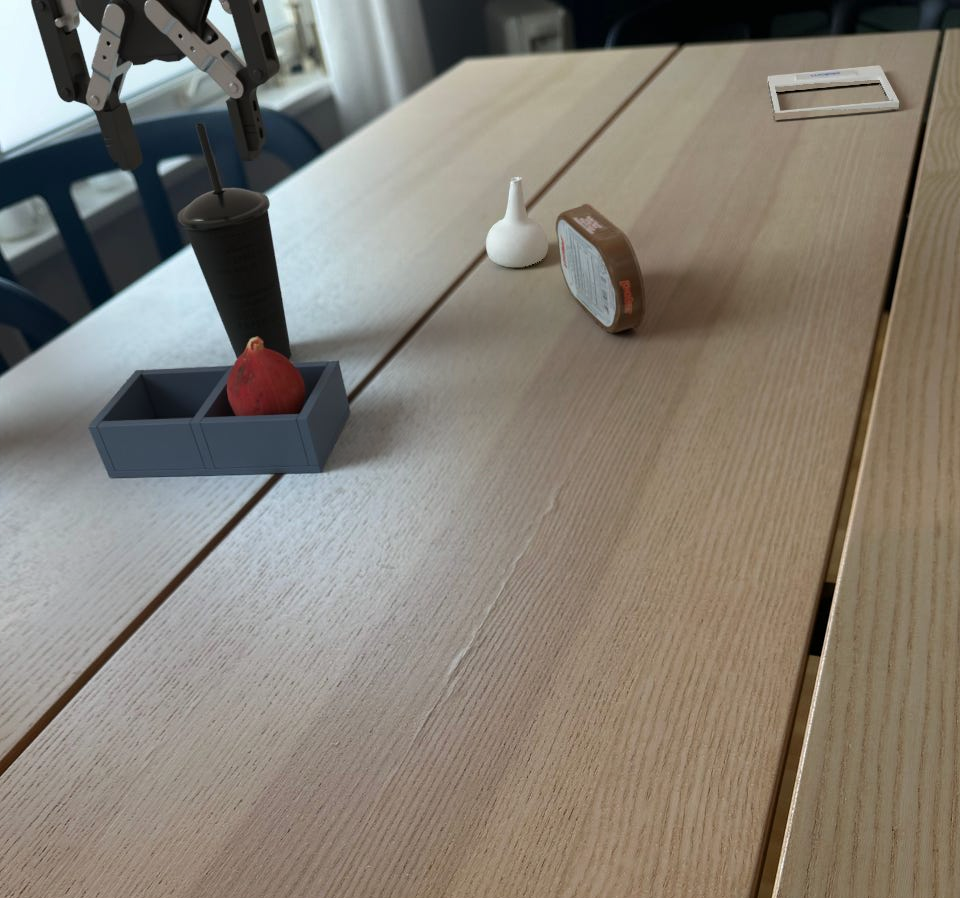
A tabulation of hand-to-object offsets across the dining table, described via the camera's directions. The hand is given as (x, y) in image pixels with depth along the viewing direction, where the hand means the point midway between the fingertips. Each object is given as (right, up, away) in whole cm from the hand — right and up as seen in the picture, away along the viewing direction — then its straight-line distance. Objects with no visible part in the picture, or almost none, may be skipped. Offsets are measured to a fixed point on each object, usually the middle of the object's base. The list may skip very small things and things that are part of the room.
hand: (191, 162), depth 67 cm
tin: (+30, -2, +24) cm, 39 cm away
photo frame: (+65, +39, +65) cm, 100 cm away
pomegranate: (+3, -16, +13) cm, 21 cm away
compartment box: (-1, -16, +14) cm, 21 cm away
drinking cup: (0, -6, +26) cm, 26 cm away
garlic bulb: (+23, +7, +36) cm, 44 cm away
